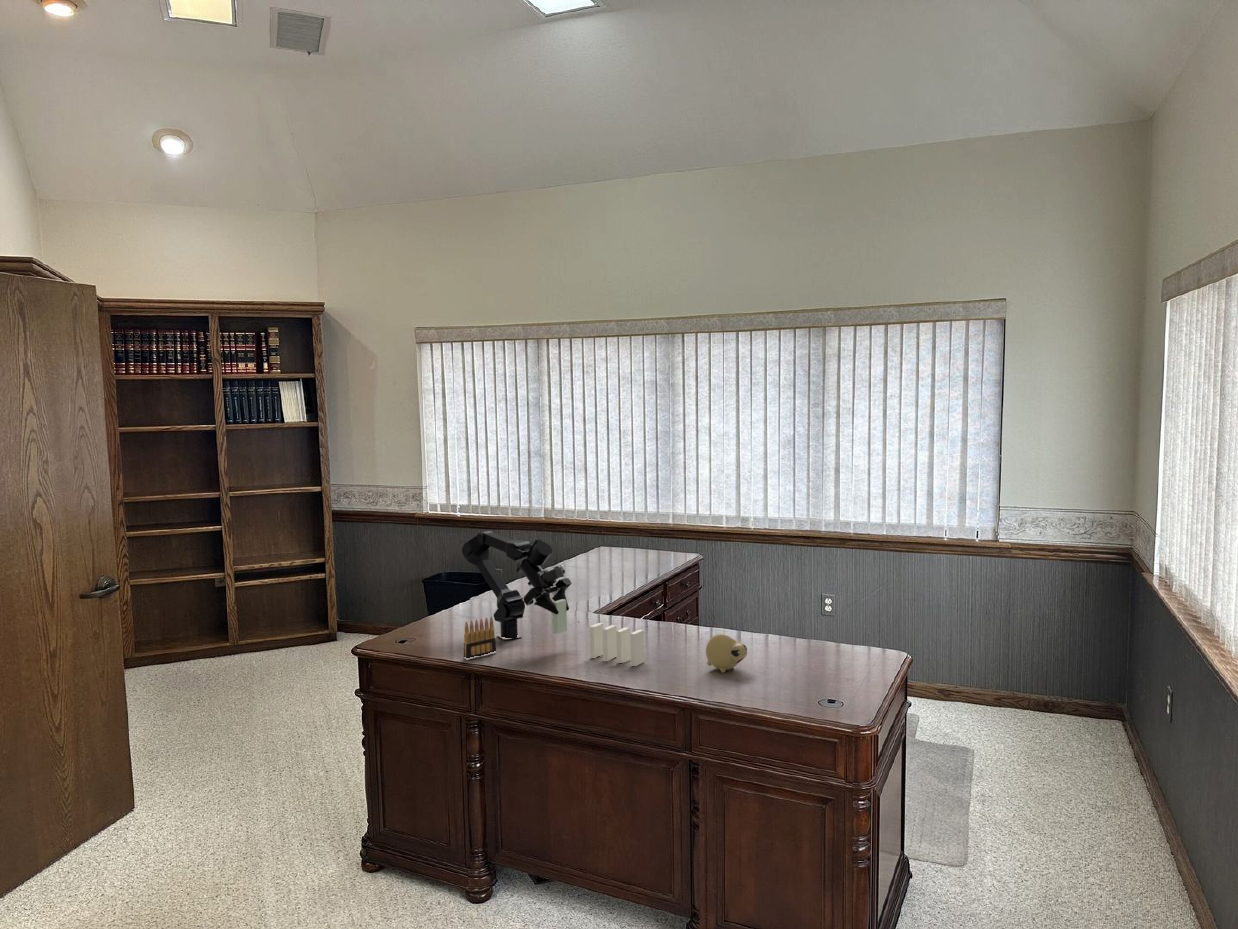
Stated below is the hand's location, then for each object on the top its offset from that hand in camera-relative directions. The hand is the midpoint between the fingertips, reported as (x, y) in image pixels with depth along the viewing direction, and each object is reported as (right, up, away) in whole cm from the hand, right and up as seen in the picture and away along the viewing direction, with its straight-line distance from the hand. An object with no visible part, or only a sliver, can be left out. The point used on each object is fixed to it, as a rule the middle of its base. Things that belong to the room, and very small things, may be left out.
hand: (563, 612), depth 275 cm
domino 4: (+19, -13, -12) cm, 26 cm away
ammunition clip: (-26, -14, -3) cm, 29 cm away
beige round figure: (+49, -14, -22) cm, 55 cm away
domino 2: (+11, -13, -6) cm, 18 cm away
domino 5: (+23, -13, -15) cm, 31 cm away
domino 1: (-1, -7, +1) cm, 7 cm away
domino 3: (+15, -13, -9) cm, 22 cm away
